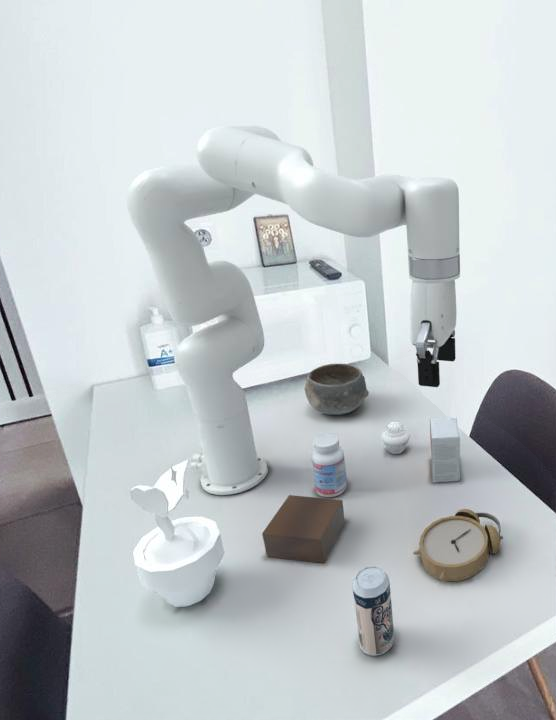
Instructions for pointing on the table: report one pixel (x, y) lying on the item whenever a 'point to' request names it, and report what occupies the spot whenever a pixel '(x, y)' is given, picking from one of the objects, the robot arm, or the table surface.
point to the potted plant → (176, 544)
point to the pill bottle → (328, 466)
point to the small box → (445, 449)
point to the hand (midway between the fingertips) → (438, 372)
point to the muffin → (395, 437)
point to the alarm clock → (458, 545)
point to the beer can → (373, 610)
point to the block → (304, 528)
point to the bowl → (336, 388)
